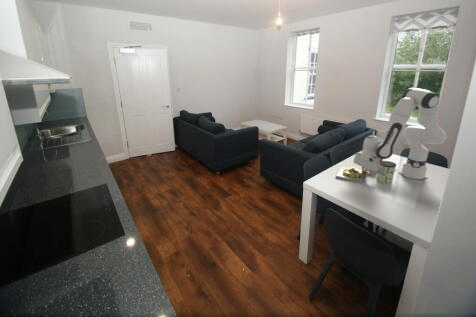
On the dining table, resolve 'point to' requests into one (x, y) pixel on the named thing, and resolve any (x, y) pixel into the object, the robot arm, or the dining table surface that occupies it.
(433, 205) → the dining table surface
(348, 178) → the base plate
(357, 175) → the ring nut
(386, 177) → the coffee can
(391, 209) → the dining table surface
